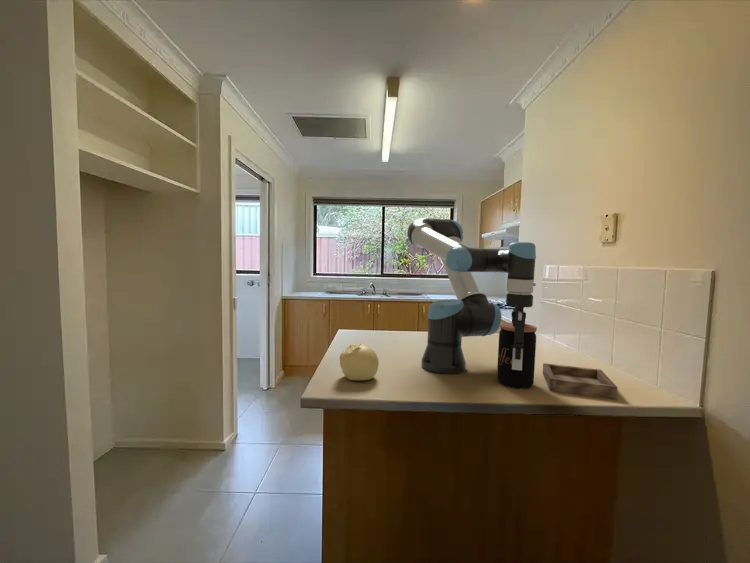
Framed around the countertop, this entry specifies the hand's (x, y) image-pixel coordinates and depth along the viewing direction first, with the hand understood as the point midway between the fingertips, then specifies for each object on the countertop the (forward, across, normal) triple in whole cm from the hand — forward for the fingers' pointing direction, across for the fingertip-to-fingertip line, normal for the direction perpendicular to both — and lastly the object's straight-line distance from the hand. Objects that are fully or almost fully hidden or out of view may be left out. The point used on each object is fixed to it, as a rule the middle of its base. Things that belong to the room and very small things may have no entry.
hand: (515, 364), depth 110 cm
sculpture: (+6, -15, +46) cm, 49 cm away
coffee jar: (+6, 0, 0) cm, 6 cm away
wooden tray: (+6, +6, -18) cm, 20 cm away
